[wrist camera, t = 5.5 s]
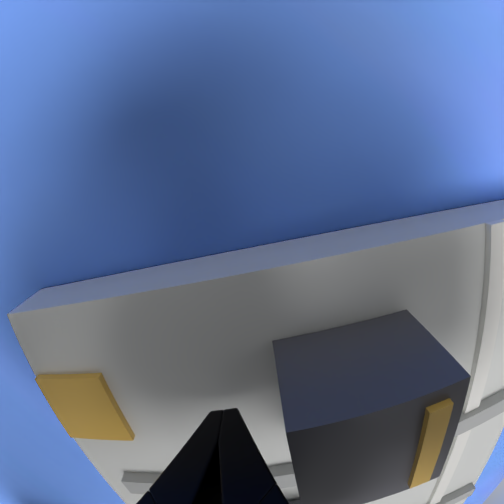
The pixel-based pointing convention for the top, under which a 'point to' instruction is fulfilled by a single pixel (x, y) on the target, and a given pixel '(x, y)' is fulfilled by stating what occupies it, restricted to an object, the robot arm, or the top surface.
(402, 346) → the block
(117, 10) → the top surface
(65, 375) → the console
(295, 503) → the switch middle
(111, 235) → the top surface
